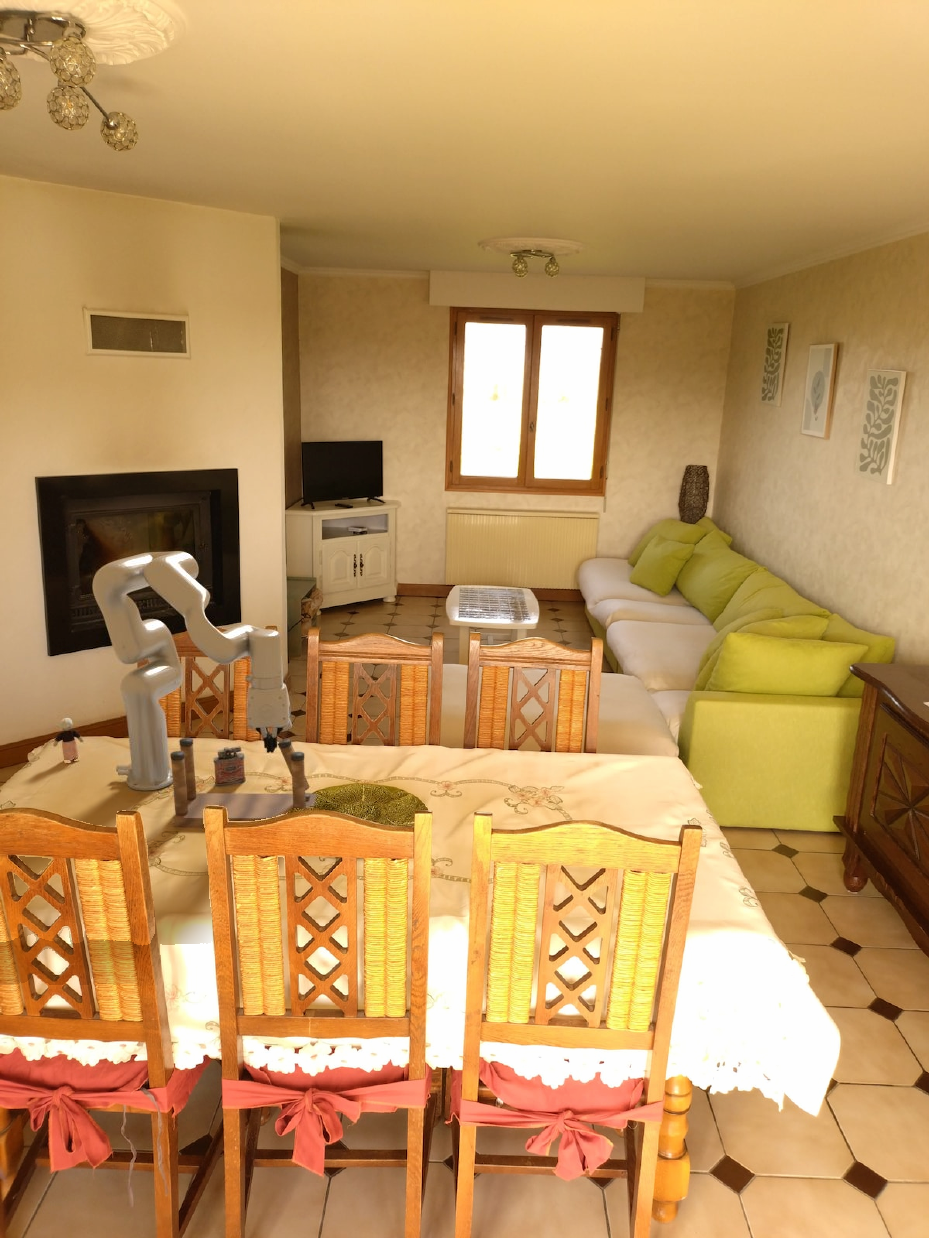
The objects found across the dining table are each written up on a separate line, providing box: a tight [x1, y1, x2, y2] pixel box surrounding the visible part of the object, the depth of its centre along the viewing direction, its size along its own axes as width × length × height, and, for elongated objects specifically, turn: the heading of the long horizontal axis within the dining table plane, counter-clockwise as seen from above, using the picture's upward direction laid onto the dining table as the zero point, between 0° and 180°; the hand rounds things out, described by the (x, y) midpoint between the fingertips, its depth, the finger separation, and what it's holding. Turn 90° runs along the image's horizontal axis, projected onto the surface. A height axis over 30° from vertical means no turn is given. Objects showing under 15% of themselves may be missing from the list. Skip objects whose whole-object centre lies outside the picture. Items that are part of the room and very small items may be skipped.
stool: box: [169, 737, 318, 828], centre depth 231 cm, size 33×13×18 cm, turn 91°
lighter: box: [213, 745, 246, 788], centre depth 249 cm, size 8×3×10 cm, turn 117°
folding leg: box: [277, 738, 310, 792], centre depth 235 cm, size 14×3×3 cm
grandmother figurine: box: [52, 717, 84, 761], centre depth 260 cm, size 8×4×13 cm, turn 133°
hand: (271, 750), depth 233 cm, fingers closed
